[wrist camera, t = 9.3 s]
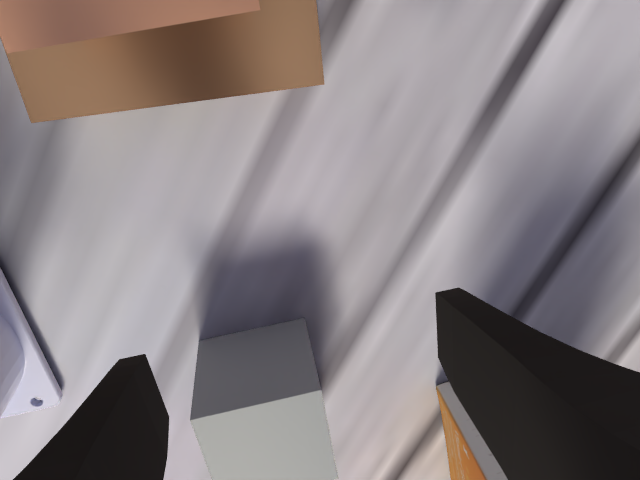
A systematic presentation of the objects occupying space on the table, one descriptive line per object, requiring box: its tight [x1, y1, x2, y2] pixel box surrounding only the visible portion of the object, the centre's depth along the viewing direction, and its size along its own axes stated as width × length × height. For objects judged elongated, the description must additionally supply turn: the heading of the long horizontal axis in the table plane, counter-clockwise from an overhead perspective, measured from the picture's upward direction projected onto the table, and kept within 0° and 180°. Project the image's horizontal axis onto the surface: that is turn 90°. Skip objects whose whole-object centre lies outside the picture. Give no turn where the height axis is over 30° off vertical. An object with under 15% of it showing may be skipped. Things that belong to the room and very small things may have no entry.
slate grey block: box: [190, 318, 338, 480], centre depth 22 cm, size 5×5×5 cm
